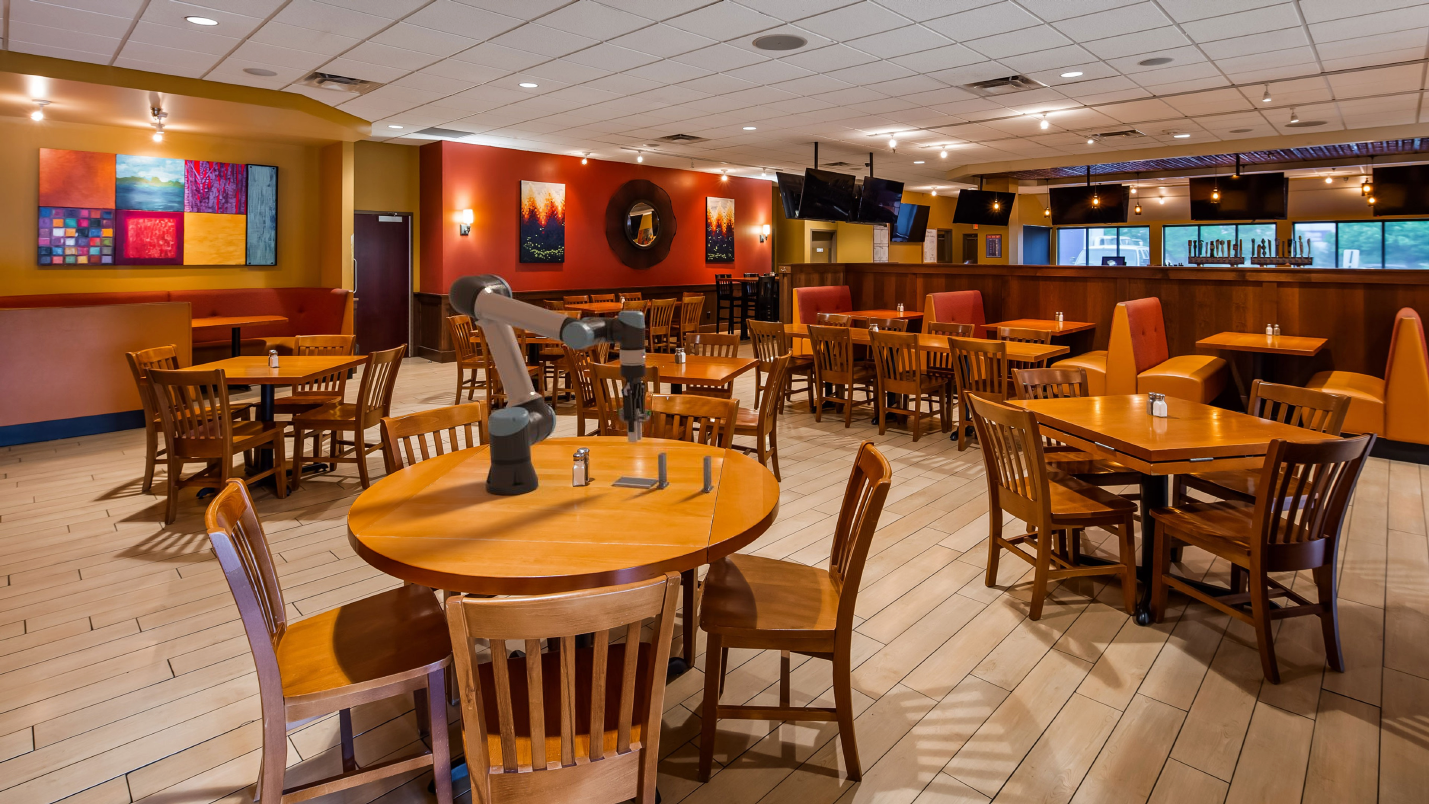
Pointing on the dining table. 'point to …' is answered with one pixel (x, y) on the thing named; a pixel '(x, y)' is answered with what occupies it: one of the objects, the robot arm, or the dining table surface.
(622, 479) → the mat
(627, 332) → the robot arm
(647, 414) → the mechanical component
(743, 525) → the dining table surface
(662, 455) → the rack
